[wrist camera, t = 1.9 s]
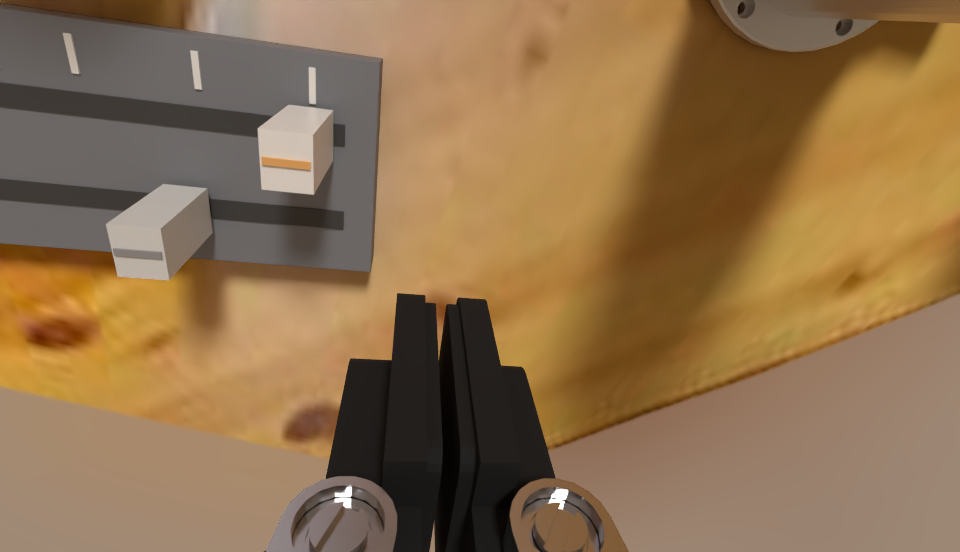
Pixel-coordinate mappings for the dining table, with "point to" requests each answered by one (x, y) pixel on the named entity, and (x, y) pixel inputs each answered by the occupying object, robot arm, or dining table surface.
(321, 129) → the fader
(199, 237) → the fader
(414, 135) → the dining table surface
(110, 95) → the console
